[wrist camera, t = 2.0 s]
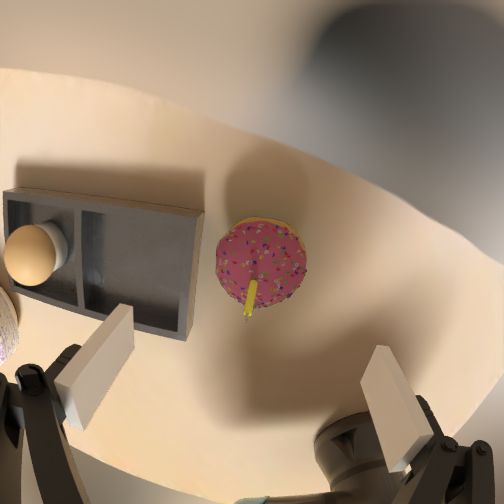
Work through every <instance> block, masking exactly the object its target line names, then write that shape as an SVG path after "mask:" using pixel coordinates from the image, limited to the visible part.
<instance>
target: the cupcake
mask: <svg viewBox="0 0 504 504" xmlns="http://www.w3.org/2000/svg"><path fill="white" fill-rule="evenodd" d="M305 271H306V272H307V270H306V252H305V247H304V244H303V242H302V240H301V239H300V237H299V235H298V234H297V232H296V231H295V230H294V229H293V228H292V227H291V226H290V225H288V224H286V223H284V222H282V221H279V220H275V219H268V218H259V217H250V218H246V219H244V220H241V221H240V222H238V223H237V224H235V225H234V226H233V227H232V228H231V229H230V230H229V231H228V232H227V233H226V234H225V235H224V237H223V238H222V239H221V240H220V242H219V243H218V246H217V249H216V274H217V277H218V279H219V281H220V284H221V285H222V286H223V288H224V289H225V290H226V291H227V292H228V295H229V294H230V296H231V297H234V298H235V299H237V300H238V302H240V303H243V305H244V304H245V307H244V311H243V314H244V316H245V319H244V322H245V323H246V322H247V319H248V317H250V316H251V315H252V311H253V308H256V306H258V307H259V308H260V307H262V306H264V307H266V306H267V307H268V306H270V305H273V304H275V303H277V302H279V301H280V302H282V301H281V300H283V299H285V298H289V297H290V296H291V295H292V293H293V292H295V290H296V288H298V287H300V284H301V282H302V281H303V279H304V276H305V273H306V272H305ZM253 306H255V307H253Z"/></svg>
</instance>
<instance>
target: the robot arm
mask: <svg viewBox="0 0 504 504" xmlns="http://www.w3.org/2000/svg"><path fill="white" fill-rule="evenodd" d="M133 349H134V327H133V306H129V305H125V304H121V303H120V304H119V305H118V306H117V307H116V308H115V309H114V311H113V312H112V313H111V314H110V315H109V316H108V317H107V318H106V320H105V321H104V322H103V323H102V324H101V325H100V326H99V328H98V329H97V330H96V331H95V332H94V333H93V334H92V336H91V337H90V338H89V339H88V340H87V341H86V343H85V344H84V345H83V346H80V345H77V344H73V345H71V346H69V347H67V348H66V349H65V350H64V351H63V352H62V353H61V354H60V356H58V358H57V359H56V360H55V361H54V362H53V363H52V364H51V365H50V367H49V368H48V369H47V370H46V371H45V372H44V371H43V369H42V368H41V367H40V366H39V365H36V364H25V365H22V366H21V367H19V368H18V369H17V371H16V373H15V378H16V380H17V383H18V384H14V383H9V382H8V381H7V378H6V376H5V375H4V374H2V373H0V504H21V464H22V448H23V437H24V429H26V435H27V440H28V446H29V451H30V455H31V460H32V464H33V468H34V472H35V476H36V480H37V484H38V487H39V491H40V494H41V497H42V500H43V503H44V504H91V502H90V500H89V498H88V495H87V493H86V490H85V488H84V486H83V483H82V481H81V478H80V476H79V473H78V470H77V467H76V465H75V462H74V459H73V456H72V453H71V450H70V447H69V443H68V440H67V437H66V433H65V430H64V427H63V424H62V423H63V421H64V420H65V418H67V421H68V424H69V425H70V426H72V427H74V428H77V429H79V430H81V431H85V429H86V427H87V425H88V424H89V422H90V420H91V419H92V417H93V415H94V413H95V412H96V410H97V408H98V407H99V405H100V403H101V402H102V400H103V398H104V397H105V395H106V393H107V392H108V390H109V388H110V387H111V385H112V383H113V382H114V380H115V378H116V377H117V375H118V373H119V372H120V370H121V369H122V367H123V365H124V364H125V362H126V360H127V359H128V357H129V356H130V354H131V352H132V351H133ZM360 384H361V387H362V390H363V393H364V396H365V399H366V402H367V405H368V408H369V411H370V412H365V413H360V414H356V415H353V416H350V417H347V418H344V419H342V420H340V421H338V422H336V423H334V424H332V425H331V426H329V427H328V428H326V429H325V430H324V431H323V432H322V433H321V434H320V435H319V436H318V438H317V439H316V441H315V444H314V452H315V459H316V462H317V463H318V465H319V467H320V468H321V470H322V472H323V474H324V475H325V477H326V478H327V480H328V482H329V484H330V490H331V492H326V493H318V494H309V495H298V496H284V497H270V496H265V497H260V498H243V499H240V500H238V501H236V502H235V503H234V504H495V483H494V465H493V453H492V449H491V447H490V445H489V444H488V443H487V442H485V441H482V440H477V441H475V442H474V443H473V444H472V445H471V446H470V447H464V446H459V445H458V443H457V442H456V441H455V440H454V439H453V438H451V437H448V436H444V434H443V432H442V430H441V428H440V426H439V424H438V422H437V420H436V418H435V416H433V415H434V414H433V412H432V410H430V407H429V405H428V403H427V401H426V400H425V399H424V398H423V397H422V396H421V395H415V394H414V392H413V391H412V389H411V387H410V385H409V383H408V381H407V379H406V377H405V375H404V373H403V372H402V370H401V368H400V366H399V364H398V362H397V360H396V359H395V357H394V355H393V353H392V351H391V350H390V348H389V346H383V345H376V348H375V350H374V352H373V355H372V357H371V359H370V362H369V364H368V366H367V368H366V370H365V373H364V375H363V377H362V379H361V381H360ZM409 464H410V466H411V469H412V470H411V471H410V472H409V473H408V474H407V475H406V472H405V468H406V467H407V466H408V465H409Z"/></svg>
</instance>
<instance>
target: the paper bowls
mask: <svg viewBox="0 0 504 504" xmlns="http://www.w3.org/2000/svg"><path fill="white" fill-rule="evenodd" d="M17 326H18V322H17V315H16V311H15V308H14V306H13V304H12V302H11V300H10V298H9V296H8V295H7V293H6V292H5V291H4V290H3V288H2V287H1V286H0V365H2V364H3V363H4V362H5V361H6V360H7V359H8V357H10V356H11V355H12V354H13V353H14V352H15V351H16V349H17V347H18V344H19V343H18V342H19V341H18V339H19V335H18V329H17Z"/></svg>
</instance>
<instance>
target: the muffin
mask: <svg viewBox="0 0 504 504" xmlns="http://www.w3.org/2000/svg"><path fill="white" fill-rule="evenodd" d="M67 254H68V248H67V242H66V239H65V236H64V234H63V232H62V231H61V229H60V228H59V227H58V226H57V225H56V224H54V223H52V222H49V221H44V222H41V223H38V224H36V225H25V226H22V227H20V228H18V229H16V230H15V231H14V232H13V233H12V234H11V235H10V237H9V238H8V240H7V242H6V245H5V249H4V262H5V266H6V269H7V271H8V273H9V274H10V276H11V277H12V278H13V279H14V280H15V281H17V282H18V283H20V284H23V285H27V286H34V285H38V284H41V283H42V282H44V281H45V280H47V279H48V278H49V276H50V275H51V274H52V272H53V271H55V270H57V269H58V268H60V267H61V266H62V265H63V264H64V263H65V261H66V259H67Z"/></svg>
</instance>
